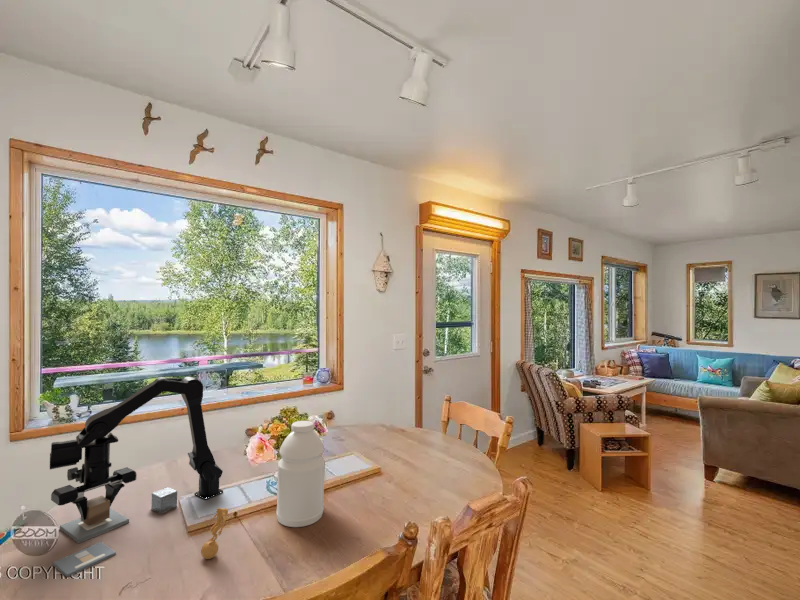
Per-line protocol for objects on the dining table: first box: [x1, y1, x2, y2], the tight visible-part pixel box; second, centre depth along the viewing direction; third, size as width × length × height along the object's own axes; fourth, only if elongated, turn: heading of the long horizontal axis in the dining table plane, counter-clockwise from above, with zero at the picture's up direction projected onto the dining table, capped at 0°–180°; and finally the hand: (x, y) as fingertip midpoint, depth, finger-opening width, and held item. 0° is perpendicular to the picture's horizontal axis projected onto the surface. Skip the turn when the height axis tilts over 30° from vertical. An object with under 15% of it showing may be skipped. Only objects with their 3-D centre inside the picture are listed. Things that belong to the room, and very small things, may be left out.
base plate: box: [59, 507, 130, 544], centre depth 113 cm, size 12×12×1 cm
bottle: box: [275, 420, 326, 528], centre depth 121 cm, size 14×14×28 cm
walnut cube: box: [80, 495, 111, 526], centre depth 113 cm, size 5×5×5 cm
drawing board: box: [52, 541, 117, 578], centre depth 98 cm, size 8×10×1 cm
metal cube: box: [150, 486, 178, 514], centre depth 123 cm, size 5×5×5 cm
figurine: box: [200, 507, 229, 560], centre depth 101 cm, size 8×6×12 cm
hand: (95, 515), depth 113 cm, fingers open, 5 cm apart
